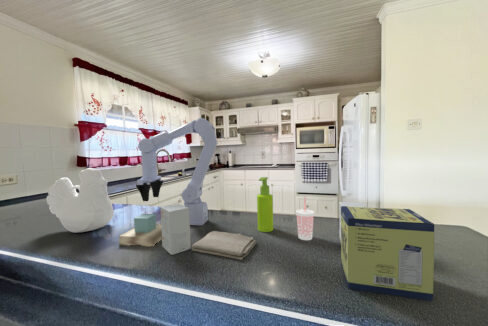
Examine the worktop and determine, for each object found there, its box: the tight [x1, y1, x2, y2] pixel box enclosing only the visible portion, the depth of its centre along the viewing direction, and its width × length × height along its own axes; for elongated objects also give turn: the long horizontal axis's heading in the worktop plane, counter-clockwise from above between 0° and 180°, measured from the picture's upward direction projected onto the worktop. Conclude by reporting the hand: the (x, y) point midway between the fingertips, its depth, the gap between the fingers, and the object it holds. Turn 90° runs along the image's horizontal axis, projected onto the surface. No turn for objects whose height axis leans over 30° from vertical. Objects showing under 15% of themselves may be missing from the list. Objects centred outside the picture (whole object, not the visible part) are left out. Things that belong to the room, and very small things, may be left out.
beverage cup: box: [295, 196, 315, 241], centre depth 73 cm, size 6×6×14 cm
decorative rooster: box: [45, 167, 115, 234], centre depth 87 cm, size 25×16×25 cm, turn 75°
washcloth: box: [191, 230, 257, 261], centre depth 67 cm, size 12×18×3 cm, turn 69°
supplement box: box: [338, 201, 367, 242], centre depth 67 cm, size 7×7×13 cm
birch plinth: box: [118, 223, 162, 247], centre depth 76 cm, size 12×12×3 cm
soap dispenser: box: [256, 176, 274, 233], centre depth 81 cm, size 6×7×20 cm
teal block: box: [133, 213, 157, 233], centre depth 75 cm, size 5×5×5 cm
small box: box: [160, 203, 192, 256], centre depth 67 cm, size 8×6×13 cm
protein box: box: [340, 206, 435, 302], centre depth 48 cm, size 10×16×16 cm
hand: (151, 199), depth 92 cm, fingers open, 7 cm apart
